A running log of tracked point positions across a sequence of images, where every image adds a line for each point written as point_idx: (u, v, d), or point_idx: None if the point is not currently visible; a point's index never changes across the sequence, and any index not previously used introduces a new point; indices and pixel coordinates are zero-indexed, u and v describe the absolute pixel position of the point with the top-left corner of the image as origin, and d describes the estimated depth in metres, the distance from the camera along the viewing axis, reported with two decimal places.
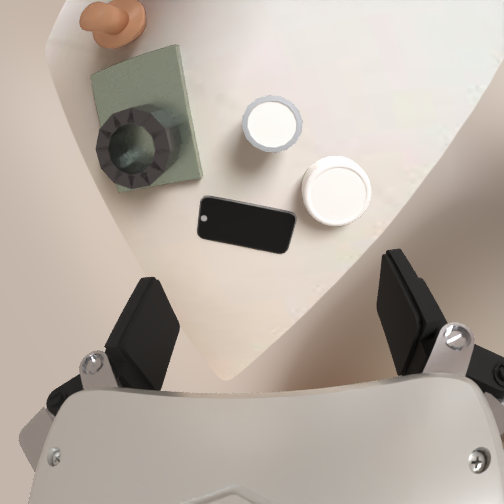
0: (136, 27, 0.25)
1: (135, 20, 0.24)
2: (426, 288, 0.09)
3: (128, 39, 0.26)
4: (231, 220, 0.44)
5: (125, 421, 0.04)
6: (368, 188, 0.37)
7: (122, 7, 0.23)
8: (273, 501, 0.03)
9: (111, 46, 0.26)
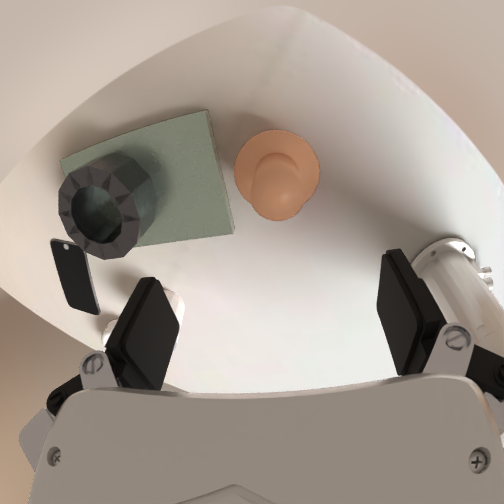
0: None
1: None
2: (426, 288, 0.09)
3: (242, 193, 0.27)
4: (73, 269, 0.39)
5: (125, 421, 0.04)
6: None
7: None
8: (273, 501, 0.03)
9: (236, 166, 0.26)
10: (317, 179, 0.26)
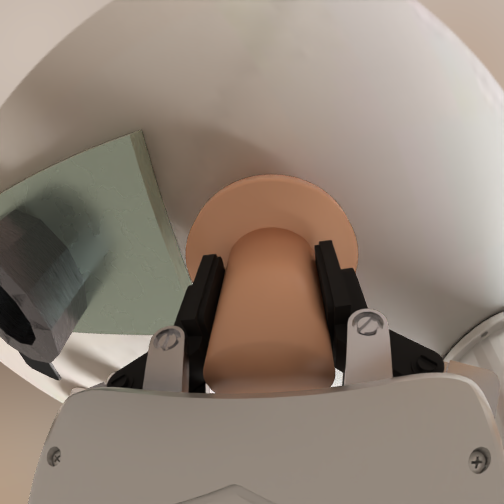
0: None
1: None
2: (354, 277, 0.10)
3: None
4: None
5: (125, 421, 0.04)
6: None
7: None
8: (273, 501, 0.03)
9: (190, 253, 0.13)
10: None
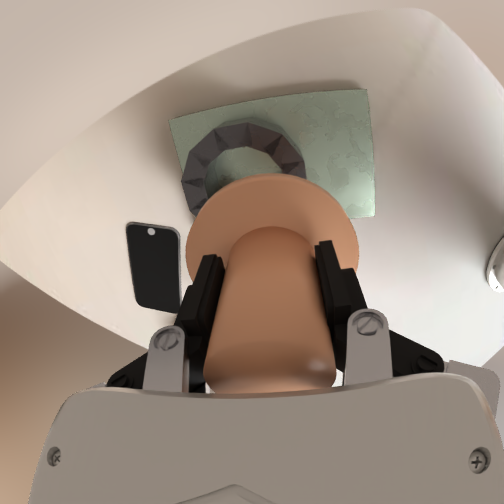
0: None
1: None
2: (354, 277, 0.10)
3: None
4: (156, 260, 0.37)
5: (125, 421, 0.04)
6: None
7: None
8: (273, 501, 0.03)
9: (190, 252, 0.13)
10: None
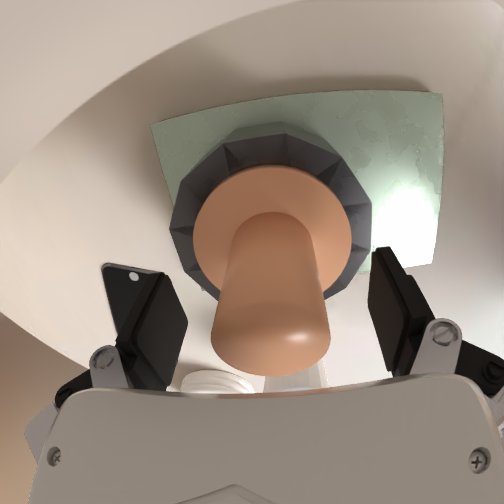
0: None
1: None
2: (415, 285, 0.09)
3: (211, 279, 0.15)
4: None
5: (125, 421, 0.04)
6: None
7: None
8: (273, 501, 0.03)
9: (197, 236, 0.14)
10: (345, 257, 0.14)
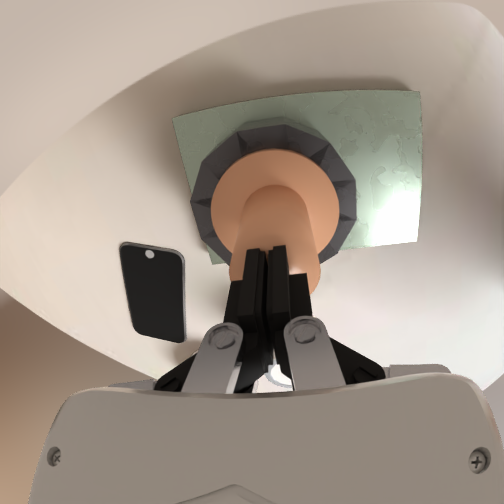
0: None
1: None
2: (305, 282, 0.10)
3: (224, 242, 0.19)
4: (156, 286, 0.31)
5: (125, 421, 0.04)
6: None
7: None
8: (273, 501, 0.03)
9: (214, 205, 0.17)
10: (335, 224, 0.17)
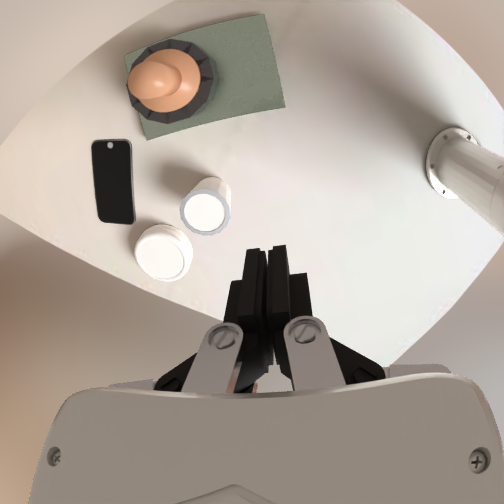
0: (154, 107, 0.29)
1: (163, 104, 0.29)
2: (305, 282, 0.10)
3: (141, 101, 0.28)
4: (114, 170, 0.41)
5: (125, 421, 0.04)
6: (174, 279, 0.48)
7: (184, 84, 0.27)
8: (273, 501, 0.03)
9: None
10: (197, 79, 0.27)
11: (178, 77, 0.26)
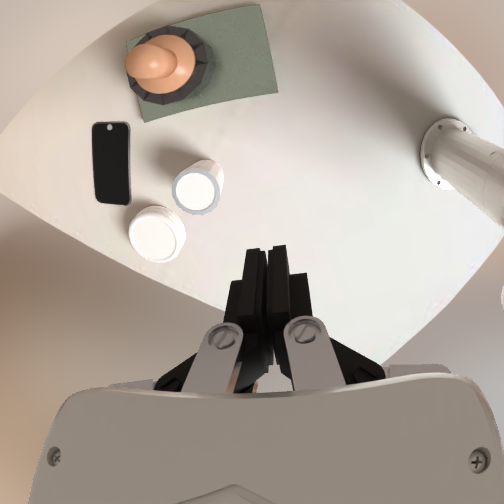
0: (151, 89, 0.29)
1: (159, 86, 0.29)
2: (305, 283, 0.10)
3: (139, 82, 0.29)
4: (112, 152, 0.41)
5: (125, 421, 0.04)
6: (165, 260, 0.48)
7: (179, 67, 0.28)
8: (273, 501, 0.03)
9: None
10: (192, 62, 0.27)
11: (173, 60, 0.26)
